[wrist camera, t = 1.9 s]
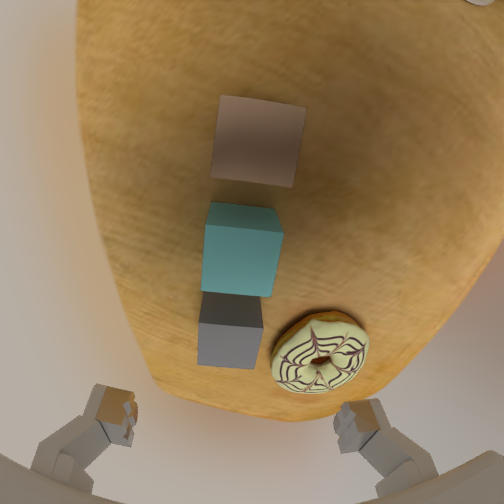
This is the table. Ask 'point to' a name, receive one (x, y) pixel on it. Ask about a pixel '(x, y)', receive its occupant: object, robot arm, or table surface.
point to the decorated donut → (319, 353)
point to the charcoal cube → (229, 330)
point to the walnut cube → (257, 141)
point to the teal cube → (241, 249)
